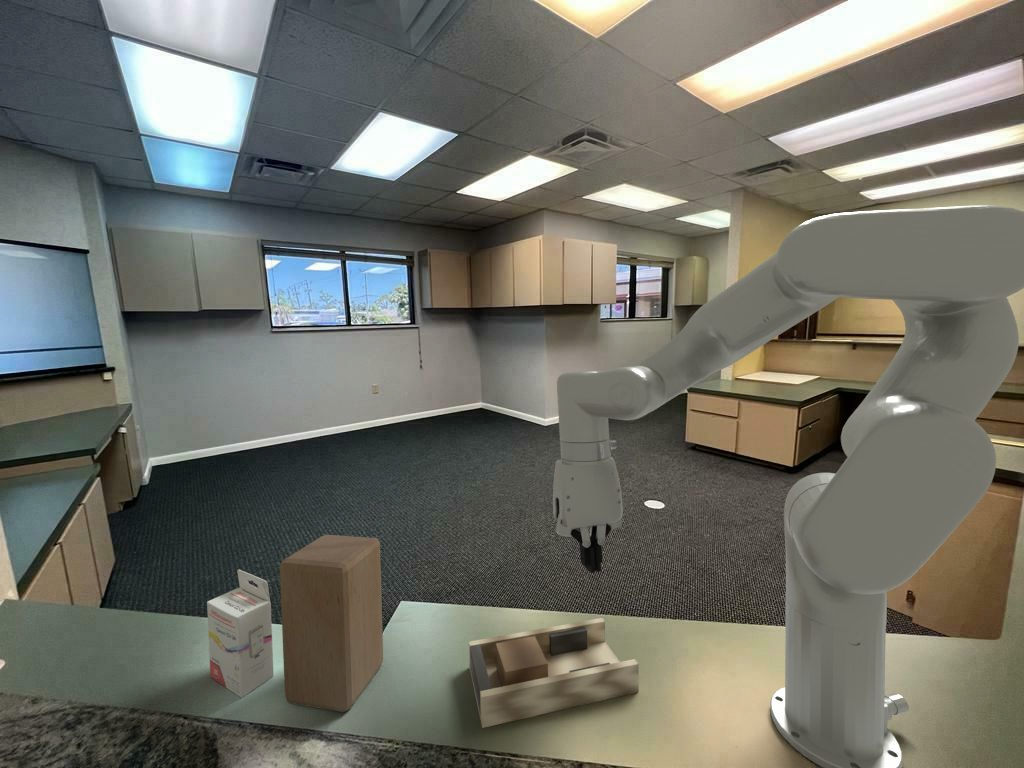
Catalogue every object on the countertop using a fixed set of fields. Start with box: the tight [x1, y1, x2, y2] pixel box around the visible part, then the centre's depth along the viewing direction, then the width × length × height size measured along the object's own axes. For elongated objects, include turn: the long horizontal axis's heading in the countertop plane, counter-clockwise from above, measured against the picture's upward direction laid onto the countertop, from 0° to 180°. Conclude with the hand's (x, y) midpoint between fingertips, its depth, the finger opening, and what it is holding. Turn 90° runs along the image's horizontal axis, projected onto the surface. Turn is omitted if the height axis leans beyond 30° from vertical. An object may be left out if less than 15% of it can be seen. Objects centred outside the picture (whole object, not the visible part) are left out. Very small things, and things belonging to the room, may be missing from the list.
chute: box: [468, 617, 640, 729], centre depth 60 cm, size 22×11×4 cm, turn 104°
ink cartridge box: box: [206, 569, 275, 698], centre depth 61 cm, size 9×5×15 cm, turn 62°
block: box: [279, 534, 384, 713], centre depth 60 cm, size 10×10×20 cm
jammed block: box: [496, 636, 548, 687], centre depth 59 cm, size 6×6×4 cm
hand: (591, 568), depth 64 cm, fingers closed
